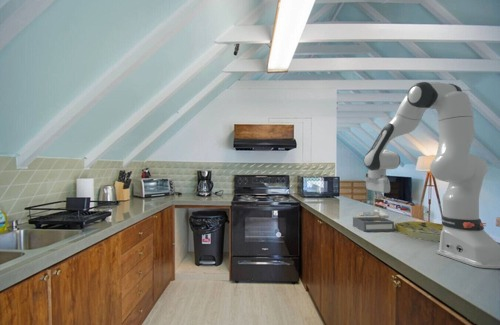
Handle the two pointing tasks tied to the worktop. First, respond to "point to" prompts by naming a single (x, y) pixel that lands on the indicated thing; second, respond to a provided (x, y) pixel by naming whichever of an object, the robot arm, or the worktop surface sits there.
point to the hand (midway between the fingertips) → (377, 199)
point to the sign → (420, 229)
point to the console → (373, 224)
